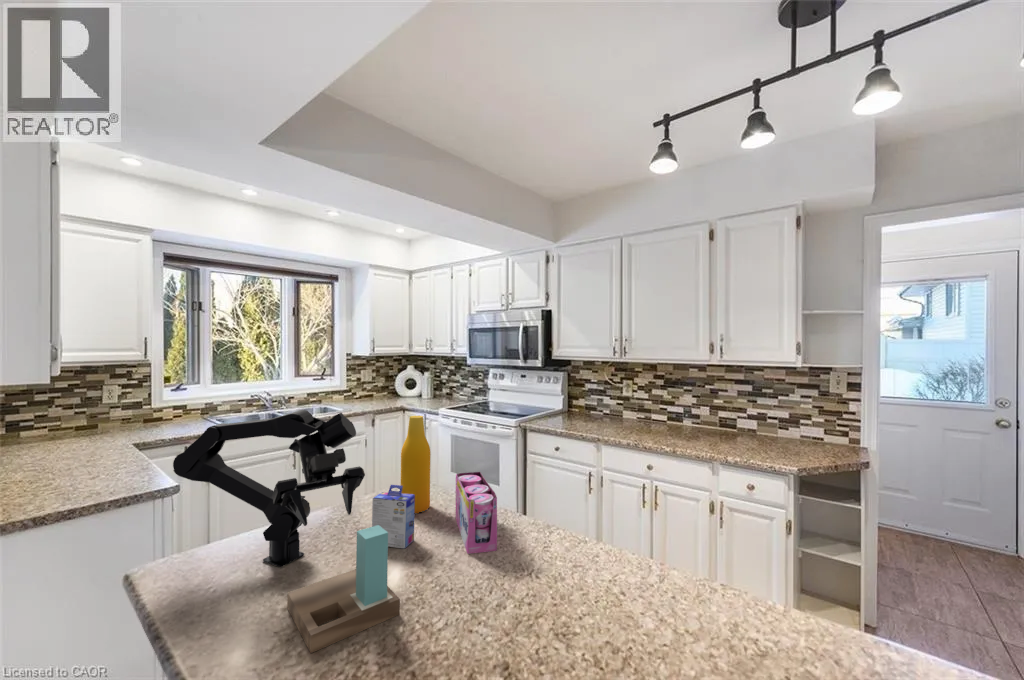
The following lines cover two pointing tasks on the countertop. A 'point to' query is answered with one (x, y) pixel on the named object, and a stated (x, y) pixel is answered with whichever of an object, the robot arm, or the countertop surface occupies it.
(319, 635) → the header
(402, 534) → the ink cartridge box
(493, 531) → the gum box
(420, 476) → the beer bottle
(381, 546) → the plug
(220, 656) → the countertop surface
